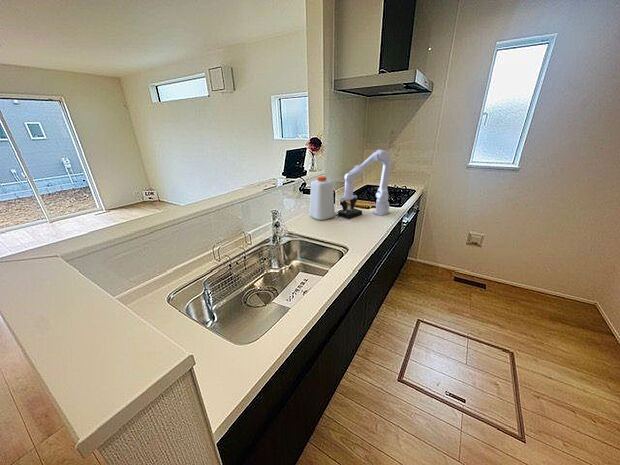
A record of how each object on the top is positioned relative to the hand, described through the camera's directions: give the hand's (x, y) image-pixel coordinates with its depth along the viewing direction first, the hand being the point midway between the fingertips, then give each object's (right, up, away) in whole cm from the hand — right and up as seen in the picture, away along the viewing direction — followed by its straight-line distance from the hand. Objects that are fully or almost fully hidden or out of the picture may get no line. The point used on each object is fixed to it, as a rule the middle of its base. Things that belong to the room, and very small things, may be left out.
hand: (348, 209), depth 178 cm
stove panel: (+1, -4, +1) cm, 4 cm away
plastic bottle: (-19, -5, 0) cm, 19 cm away
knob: (0, -1, 0) cm, 1 cm away
